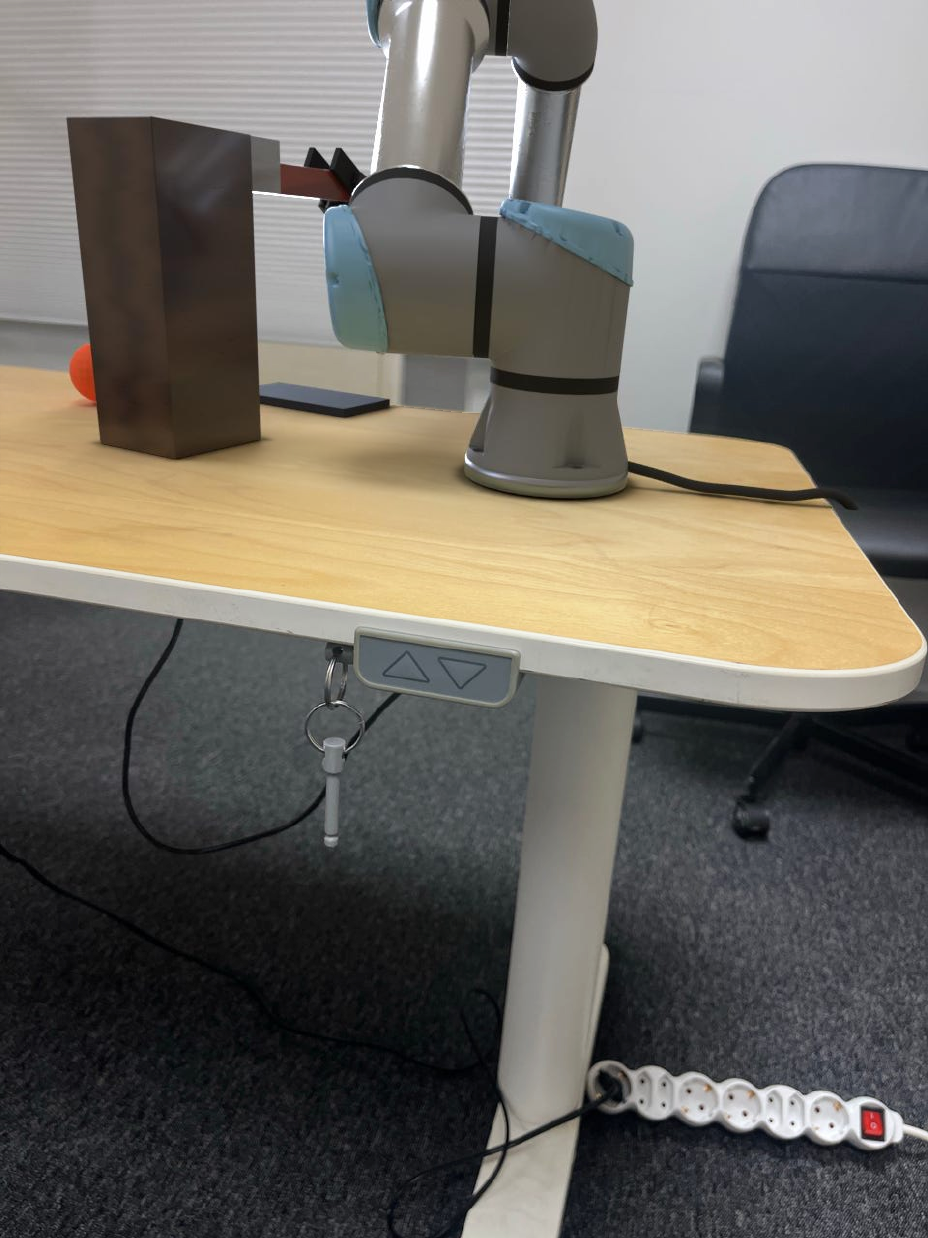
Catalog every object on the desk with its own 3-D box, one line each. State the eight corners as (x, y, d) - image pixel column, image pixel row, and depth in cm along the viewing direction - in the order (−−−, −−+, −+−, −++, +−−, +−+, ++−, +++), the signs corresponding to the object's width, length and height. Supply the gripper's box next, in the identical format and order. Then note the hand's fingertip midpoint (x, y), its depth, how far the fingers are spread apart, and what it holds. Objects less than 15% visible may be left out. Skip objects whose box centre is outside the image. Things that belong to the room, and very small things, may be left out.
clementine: (154, 403, 107) (149, 341, 105) (113, 411, 101) (107, 346, 99) (102, 395, 110) (96, 335, 107) (59, 403, 104) (51, 339, 101)
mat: (389, 406, 114) (390, 398, 114) (344, 417, 106) (344, 408, 105) (279, 389, 122) (279, 381, 121) (228, 397, 113) (228, 389, 113)
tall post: (261, 439, 92) (251, 134, 81) (175, 459, 83) (150, 115, 72) (189, 425, 97) (170, 133, 86) (100, 443, 87) (65, 116, 76)
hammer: (381, 204, 109) (382, 158, 107) (249, 190, 89) (247, 134, 87) (348, 202, 111) (348, 157, 109) (211, 188, 91) (208, 133, 89)
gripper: (371, 239, 126) (276, 127, 105) (471, 246, 119) (390, 128, 98) (356, 289, 126) (256, 186, 104) (455, 298, 119) (370, 190, 98)
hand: (321, 158), depth 101 cm, fingers closed on hammer, 3 cm apart
